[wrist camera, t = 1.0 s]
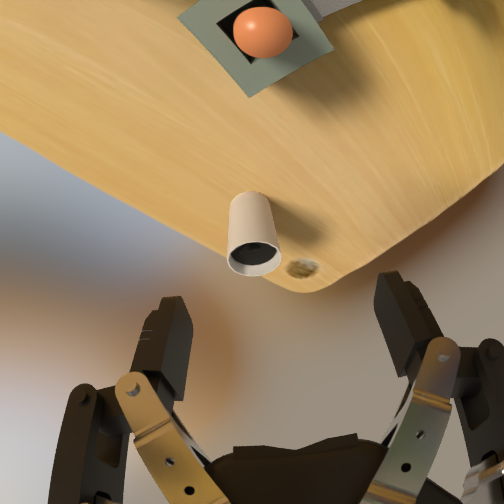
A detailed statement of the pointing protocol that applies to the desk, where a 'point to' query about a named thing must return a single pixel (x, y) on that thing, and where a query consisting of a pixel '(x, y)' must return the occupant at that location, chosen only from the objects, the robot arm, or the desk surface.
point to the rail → (326, 7)
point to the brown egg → (262, 32)
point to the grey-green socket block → (241, 64)
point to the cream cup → (252, 236)
